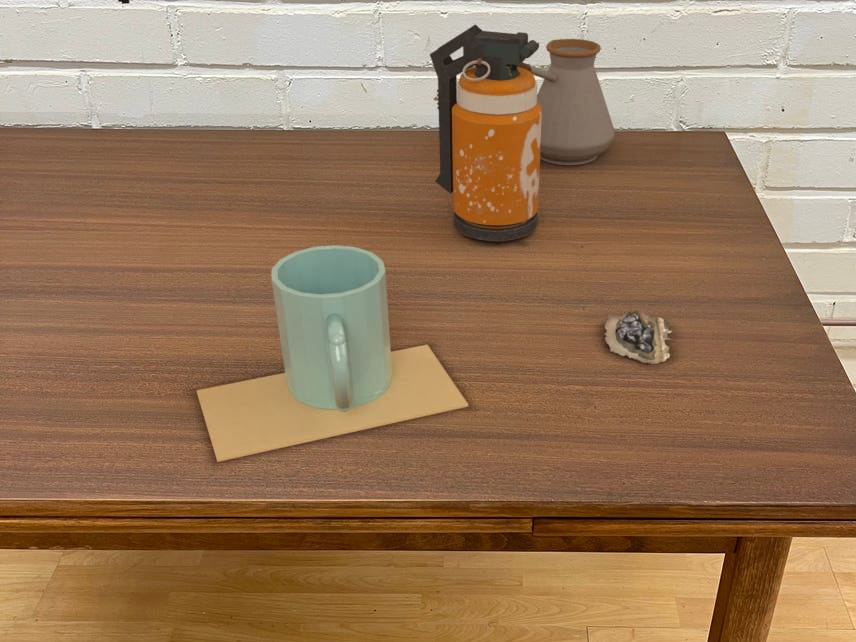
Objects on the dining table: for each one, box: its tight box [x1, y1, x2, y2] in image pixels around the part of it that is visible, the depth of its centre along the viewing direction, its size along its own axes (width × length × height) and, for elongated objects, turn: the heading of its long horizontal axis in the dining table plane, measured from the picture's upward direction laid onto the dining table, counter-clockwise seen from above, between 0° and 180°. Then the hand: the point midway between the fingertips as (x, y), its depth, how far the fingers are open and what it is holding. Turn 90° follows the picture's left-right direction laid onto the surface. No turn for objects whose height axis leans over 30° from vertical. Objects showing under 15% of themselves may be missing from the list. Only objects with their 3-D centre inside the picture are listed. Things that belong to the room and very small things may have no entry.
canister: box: [429, 24, 542, 243], centre depth 97 cm, size 9×11×20 cm
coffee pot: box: [471, 38, 616, 166], centre depth 113 cm, size 21×12×15 cm, turn 130°
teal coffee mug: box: [270, 244, 392, 412], centre depth 75 cm, size 12×9×10 cm
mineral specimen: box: [603, 310, 673, 365], centre depth 84 cm, size 7×8×2 cm
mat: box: [196, 344, 469, 463], centre depth 77 cm, size 20×10×1 cm, turn 112°
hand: (49, 3), depth 65 cm, fingers open, 9 cm apart
